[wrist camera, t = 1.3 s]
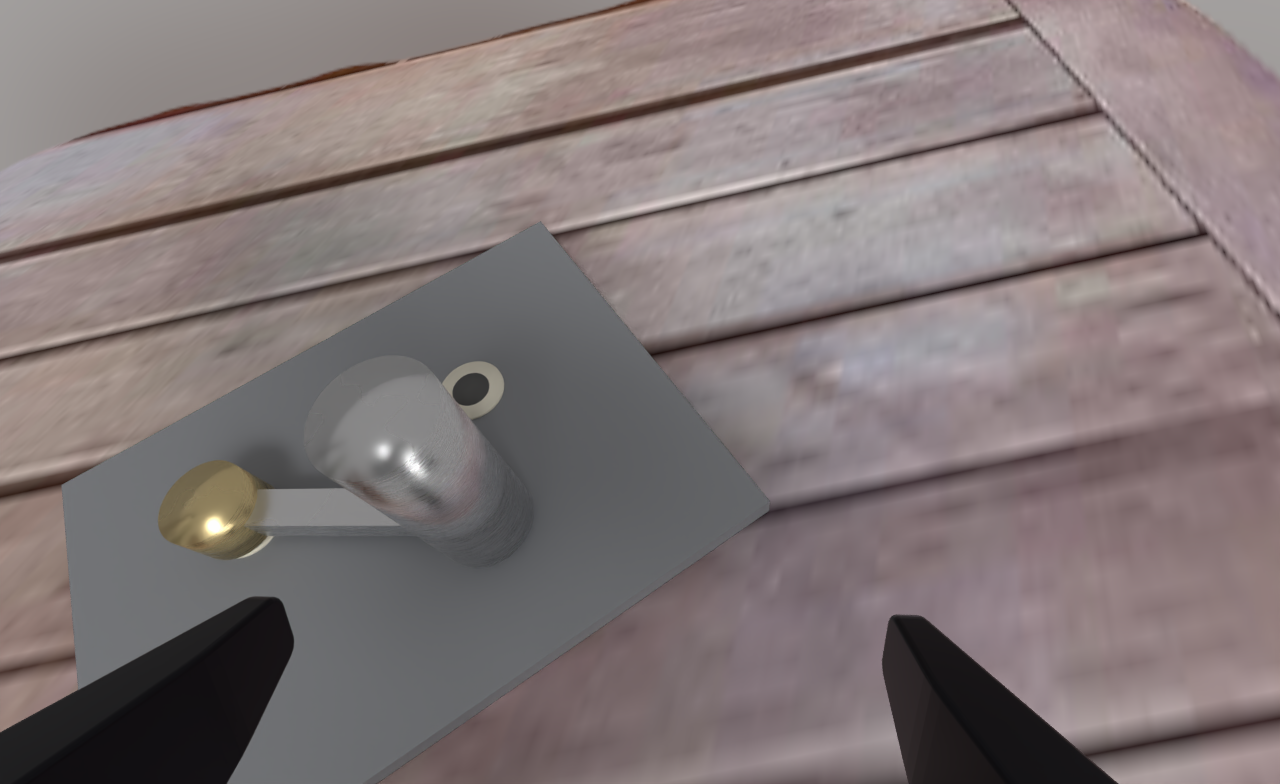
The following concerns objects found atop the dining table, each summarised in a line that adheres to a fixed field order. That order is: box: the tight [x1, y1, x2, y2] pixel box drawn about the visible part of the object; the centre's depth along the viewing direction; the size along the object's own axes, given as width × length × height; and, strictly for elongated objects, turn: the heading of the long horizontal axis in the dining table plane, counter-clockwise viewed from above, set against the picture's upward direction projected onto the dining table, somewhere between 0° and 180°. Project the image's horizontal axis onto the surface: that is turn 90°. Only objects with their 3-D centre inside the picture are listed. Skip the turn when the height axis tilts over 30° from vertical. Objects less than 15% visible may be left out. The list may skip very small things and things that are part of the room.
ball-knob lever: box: [158, 355, 534, 568], centre depth 20 cm, size 13×4×8 cm, turn 88°
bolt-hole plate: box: [62, 221, 770, 784], centre depth 24 cm, size 24×18×1 cm
